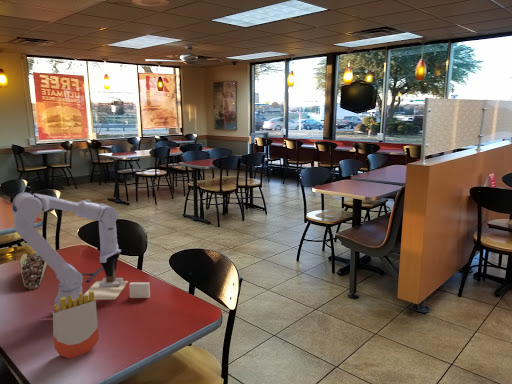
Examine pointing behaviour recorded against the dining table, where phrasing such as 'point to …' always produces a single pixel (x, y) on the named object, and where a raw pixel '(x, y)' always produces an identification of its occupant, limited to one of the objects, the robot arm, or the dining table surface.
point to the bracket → (93, 274)
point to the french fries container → (75, 325)
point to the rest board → (105, 291)
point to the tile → (139, 289)
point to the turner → (111, 281)
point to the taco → (32, 270)
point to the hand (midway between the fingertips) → (110, 274)
